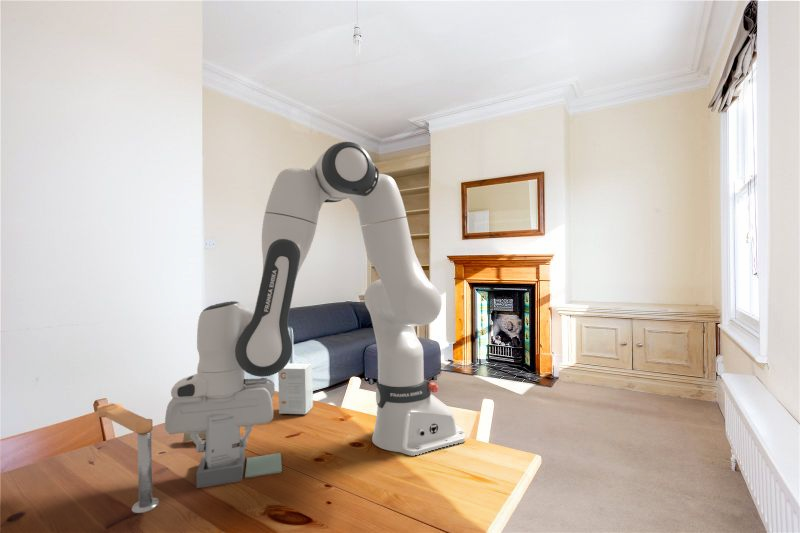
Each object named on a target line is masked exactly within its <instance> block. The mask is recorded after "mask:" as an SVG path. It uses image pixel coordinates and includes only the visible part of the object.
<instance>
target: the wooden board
mask: <svg viewBox="0 0 800 533" xmlns="http://www.w3.org/2000/svg"><path fill="white" fill-rule="evenodd" d="M123 406H124V405H123V404H122V403H114V402H109V403H106V404H101V405H97V406H96V413H97V418H107V419H108V420H110V421H112V422H114V423H116V424H118V425H119V426H120V425H121V426H122V427H124V428H126V429H128V430H129V431H132V432H133V433H135V434H137V435H138V434H142V433H147V432H150V431H151V432H152V431H153V419H152V418H145V417H143V416H141V415H139V414H137V413H134V412H132V411H130V410H129V409H126V408H124V407H123Z"/></svg>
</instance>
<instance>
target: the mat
mask: <svg viewBox="0 0 800 533" xmlns="http://www.w3.org/2000/svg"><path fill="white" fill-rule="evenodd" d="M245 464H246V465H245V474H244V478H245V479H247V478H253V477H258V476H259V477H260V476H265V475H273V474H278V473H283V467H282V453H281V452H278V453H272V454H266V455H258V456H252V457H247V458H246V463H245Z"/></svg>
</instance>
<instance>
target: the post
mask: <svg viewBox="0 0 800 533" xmlns="http://www.w3.org/2000/svg"><path fill="white" fill-rule="evenodd" d="M152 459H153V458H152V430H151V431H150V432H147V433H142V434H138V433H137V471H138V472H137V473H138V474H137V475H138V476H137V477H138V478H137V479H138V484H137V485H138V486H137V487H138V489H137V490H138V501H137V502H135V503H134V504H133V505H132V507H131V512H132V513H135V514H141V513H142V514H143V513H146V512H149V511H152V510H154V509H155V508H156V507H157V506H158V505H159V503H160V500H159V498H157V497H153V471H152V470H153V464H152V463H153V462H152V461H153V460H152Z"/></svg>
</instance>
